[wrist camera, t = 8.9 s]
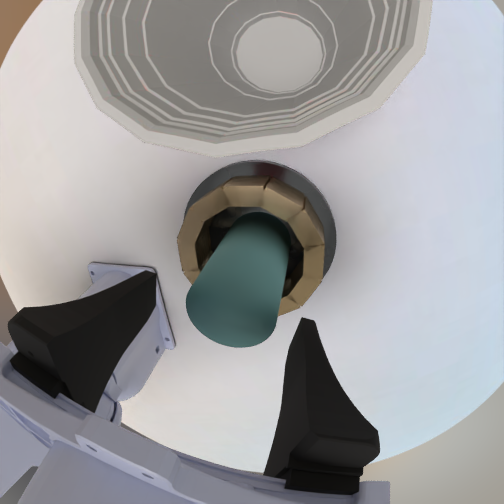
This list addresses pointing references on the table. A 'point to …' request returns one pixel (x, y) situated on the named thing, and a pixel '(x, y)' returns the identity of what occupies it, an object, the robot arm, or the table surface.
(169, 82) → the plastic cup
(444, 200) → the table surface
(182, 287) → the table surface
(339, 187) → the table surface
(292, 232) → the ring holder
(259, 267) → the peg
